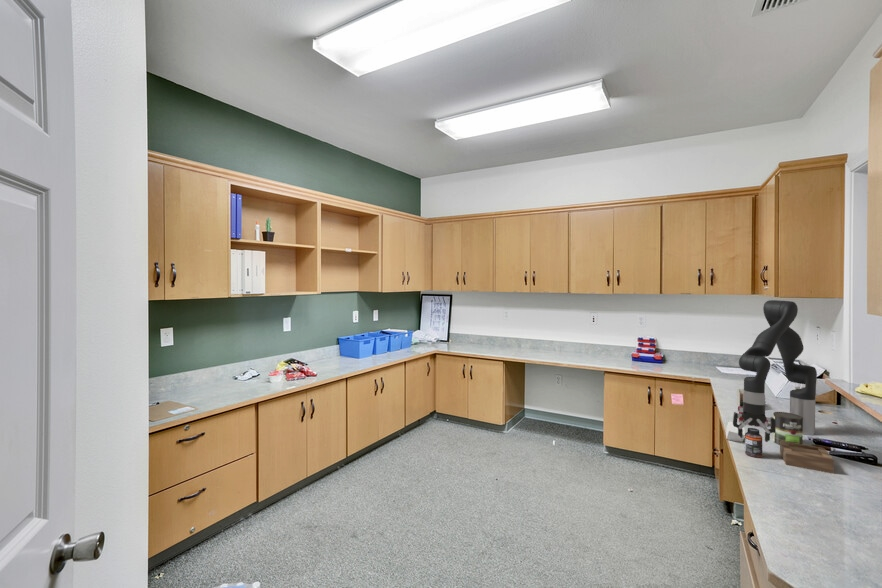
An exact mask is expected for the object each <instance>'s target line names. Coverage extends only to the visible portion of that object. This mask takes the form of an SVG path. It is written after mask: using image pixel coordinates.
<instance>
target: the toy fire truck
mask: <svg viewBox="0 0 882 588" xmlns="http://www.w3.org/2000/svg"><path fill="white" fill-rule="evenodd" d="M737 412H738V413H739V414H742V413H743V405H742V406H741V405H740V406H739V407H738V406H737ZM765 417H767V416H766V415H765ZM743 420H744V419H743V418H742V416H741V417H740V418H738V422H739V424H740V423H741V422H742V421H743ZM763 424H764V425H765V426H766V427H767V428H768V427H769V422H768V420H766V421H765V422H764V423H763ZM746 426H750V427H752V426H754V427H757V428H762V426H755V425H749V424H747V425H746Z"/></svg>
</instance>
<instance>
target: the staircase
mask: <svg viewBox="0 0 882 588" xmlns="http://www.w3.org/2000/svg"><path fill="white" fill-rule="evenodd" d="M743 393H744V388H736V405H737V408H738V407H739V406H741V405H743Z"/></svg>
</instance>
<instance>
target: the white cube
mask: <svg viewBox="0 0 882 588" xmlns="http://www.w3.org/2000/svg"><path fill="white" fill-rule="evenodd" d="M737 424H738V425H739V424H740V423H738V422H737ZM742 430H743V436H742V438H740V436H739V435H738V428H737V427H734V426H733V421H728V422H727V425H726V429H725V436H726V438H725V439H726V440H729V441H733V442H738V443H743V441H744V440H745V433H746V430H745V426H744V427H743V428H742Z"/></svg>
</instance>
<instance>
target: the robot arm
mask: <svg viewBox="0 0 882 588" xmlns="http://www.w3.org/2000/svg"><path fill="white" fill-rule="evenodd" d="M762 310H763V314H764V318H765V320H766V322H767V324H768V326H769V327H767V328H765V330H763V331H761V332H760V333H759V334H758V335H757V336H756V338H755V340H754V341H753V344H752V345H751V347H749V348H748V349H747V350H746V351H745V352H744V353H743V354H742V355H741V356H740V357H739V359H738V365H739V367H740V369H742V370H743V371H746V372H752V373H756V375H755V376H746V377H745V378H744V380H743V389H744V393H743V404H742V406H743V413H742V414H739V412H736V411H734V412H733V418H732V422H733V426H734V427H737V428H738V435H739V436H740V438H742V436H743V430H742V428H743V427H744V428H745V427H746V426H750V425H752V426H754V425H755V426H754V427H756V426H762V427H761V428H762V429H763V430H764V441H765V442H766V443H768V442H769V441H770V439H771V437H770V436H771V433H775V432H776V429H775V419H774V416H770V417H767V416H766V403H767V401H766V393H765V390H766V389H765V384H766V380H767V377H768V374H769V372H770V370H771V361H770V360H769V359H768V357H769V356H771V354H772V352H773V351H774V349H775V346H777V348H778V352H779V354H780V356H781V359H782V364H783V368H784V372H785V376H786V378H787V381H789V382H790V383H795V384H800V385H805V386H804V387H803V388H798V389H792V390H790V392H789V413H792V414H796V415H799V416H802V417H803V436H814V435H816V395H817V393H816V392H817V377H818V376H817V375H818V373H817V369H816V367H814V366H812V365H804V364H797V363H795V361H796V360H797V358H799V356H801V354H802V353H803V352H804V344H803V341H802V338H801V335H800V334H798V332H797V331H795V330H794V329H793V328H791V327H790V326H791V325H792V323H794V321H795V319H796V318H797V315H798V313H799V312H798V305H797V303H796V302H794V301H790V300H778V299H774V300H773V299H770V300H767V301H765V302H764V304H763V309H762ZM741 416H742V418H743V419H744V420H743V421H742V422H741V423H740V422H739V423H738V419H739V418H740V417H741ZM765 416H766V417H765ZM766 420H768V424H769V425H770V428H768V427H767V426H765V425H764V424H763V423H764V422H765V421H766ZM737 423H738V424H739V425H738V424H737ZM747 424H749V425H747Z"/></svg>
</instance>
